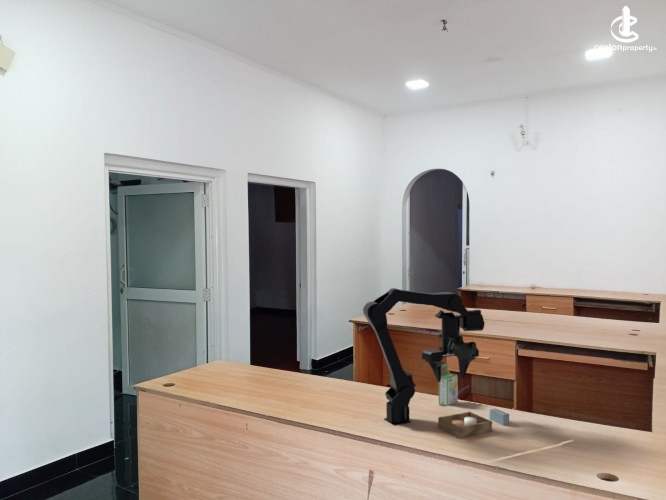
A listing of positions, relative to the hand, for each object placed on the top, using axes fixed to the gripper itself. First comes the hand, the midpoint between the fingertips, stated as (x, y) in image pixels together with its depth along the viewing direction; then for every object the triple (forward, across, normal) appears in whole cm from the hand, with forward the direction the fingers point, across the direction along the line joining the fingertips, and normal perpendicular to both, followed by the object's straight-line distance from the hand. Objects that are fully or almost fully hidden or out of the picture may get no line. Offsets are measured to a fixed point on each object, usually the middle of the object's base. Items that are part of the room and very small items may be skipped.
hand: (450, 380), depth 166 cm
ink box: (+13, +9, +13) cm, 20 cm away
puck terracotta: (+12, -6, -10) cm, 17 cm away
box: (+12, -3, -10) cm, 17 cm away
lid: (+13, +11, -10) cm, 20 cm away
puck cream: (+12, 0, -10) cm, 16 cm away
